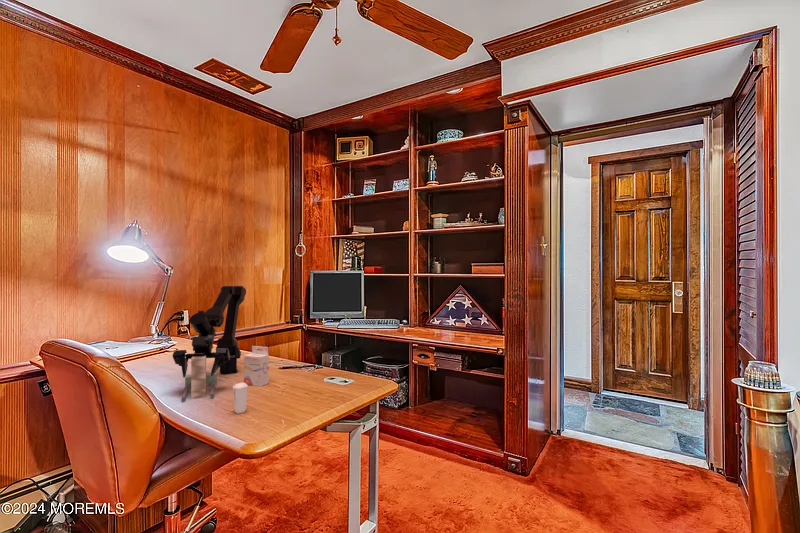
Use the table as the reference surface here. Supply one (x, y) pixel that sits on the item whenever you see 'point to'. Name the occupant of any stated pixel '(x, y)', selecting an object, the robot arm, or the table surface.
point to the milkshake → (240, 397)
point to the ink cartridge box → (256, 367)
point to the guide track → (209, 381)
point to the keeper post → (198, 377)
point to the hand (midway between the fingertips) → (197, 376)
